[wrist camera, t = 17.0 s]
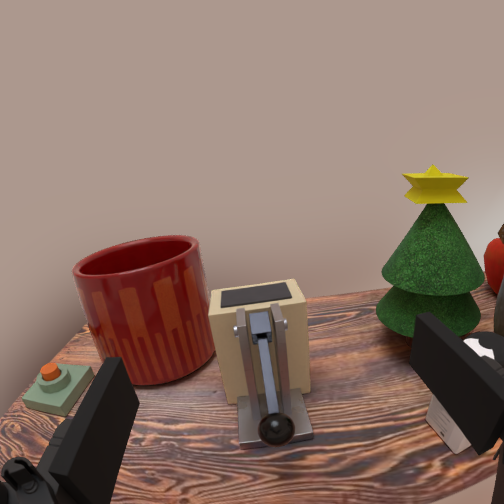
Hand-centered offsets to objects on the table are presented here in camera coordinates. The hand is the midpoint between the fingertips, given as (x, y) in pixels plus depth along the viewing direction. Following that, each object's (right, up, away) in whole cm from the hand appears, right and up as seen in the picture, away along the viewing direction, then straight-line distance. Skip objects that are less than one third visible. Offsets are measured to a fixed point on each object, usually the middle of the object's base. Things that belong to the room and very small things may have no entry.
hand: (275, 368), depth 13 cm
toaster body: (+1, -15, +33) cm, 36 cm away
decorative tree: (+30, -11, +36) cm, 48 cm away
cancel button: (-36, -17, +31) cm, 50 cm away
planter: (-18, -15, +44) cm, 50 cm away
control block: (-35, -20, +32) cm, 52 cm away
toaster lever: (+1, -9, +19) cm, 22 cm away
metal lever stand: (+2, -17, +26) cm, 31 cm away
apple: (+58, -5, +44) cm, 73 cm away
